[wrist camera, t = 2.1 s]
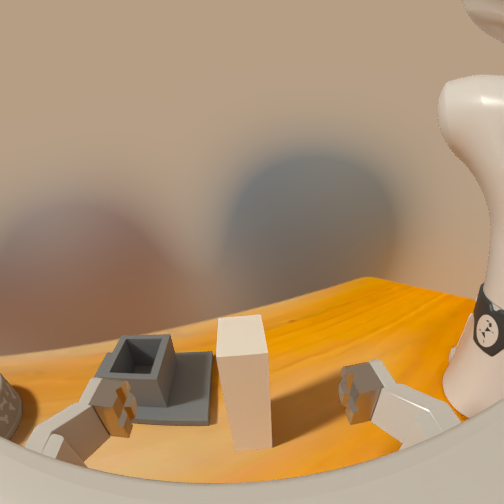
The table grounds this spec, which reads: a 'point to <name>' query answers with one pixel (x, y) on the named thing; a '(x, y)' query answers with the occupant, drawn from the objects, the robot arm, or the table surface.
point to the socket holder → (162, 379)
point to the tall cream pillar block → (245, 380)
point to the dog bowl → (9, 409)
